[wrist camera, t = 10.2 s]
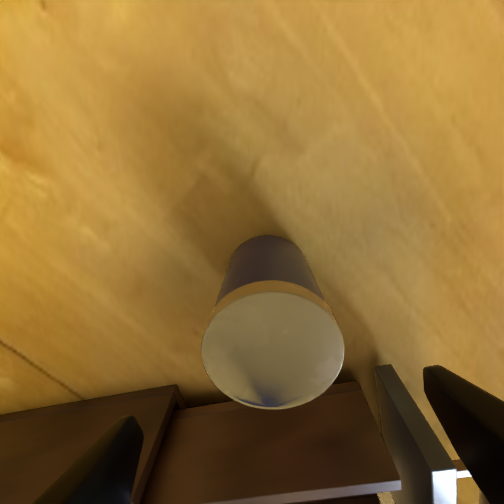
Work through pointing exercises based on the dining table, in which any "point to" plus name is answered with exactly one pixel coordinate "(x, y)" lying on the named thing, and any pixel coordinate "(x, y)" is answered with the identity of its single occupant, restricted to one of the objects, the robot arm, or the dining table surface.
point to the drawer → (306, 452)
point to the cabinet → (76, 439)
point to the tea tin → (271, 329)
